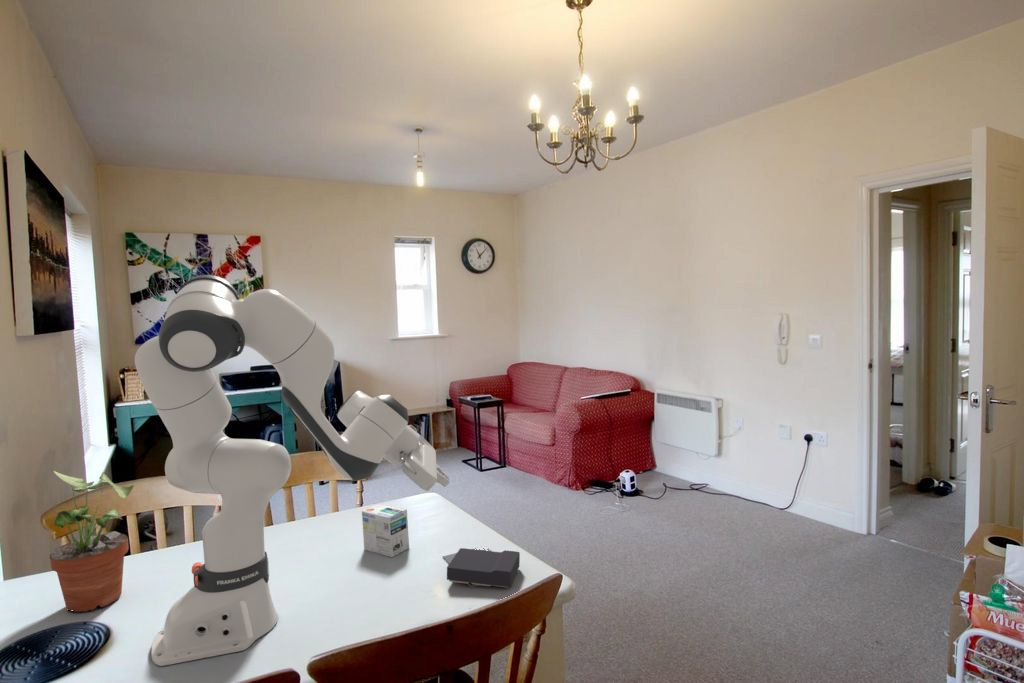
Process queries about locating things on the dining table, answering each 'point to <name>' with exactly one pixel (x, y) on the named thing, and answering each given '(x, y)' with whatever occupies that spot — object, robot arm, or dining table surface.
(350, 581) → the dining table surface
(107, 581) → the potted plant
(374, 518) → the light bulb box
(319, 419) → the robot arm
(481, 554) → the dark grey lidded case
